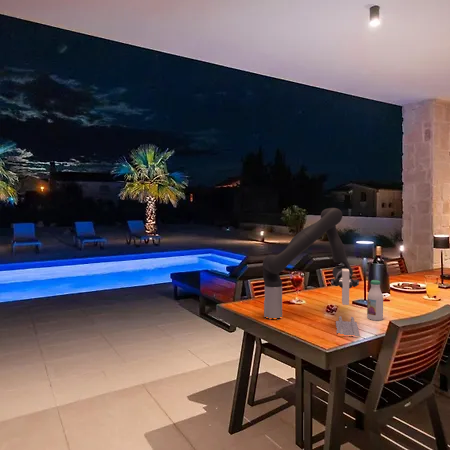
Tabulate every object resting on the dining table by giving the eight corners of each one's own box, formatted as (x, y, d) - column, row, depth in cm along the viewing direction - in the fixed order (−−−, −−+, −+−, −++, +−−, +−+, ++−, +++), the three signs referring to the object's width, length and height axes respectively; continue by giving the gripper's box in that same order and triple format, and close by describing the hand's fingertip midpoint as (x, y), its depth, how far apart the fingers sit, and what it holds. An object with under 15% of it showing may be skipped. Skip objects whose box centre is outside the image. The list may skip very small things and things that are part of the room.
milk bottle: (379, 316, 213) (379, 279, 211) (385, 320, 205) (386, 282, 204) (364, 316, 212) (365, 279, 211) (370, 321, 205) (371, 282, 203)
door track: (337, 336, 184) (337, 328, 183) (335, 322, 203) (335, 316, 203) (360, 337, 181) (360, 330, 181) (356, 324, 201) (356, 317, 200)
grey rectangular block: (342, 304, 189) (342, 271, 187) (341, 301, 195) (342, 268, 193) (349, 304, 188) (349, 271, 187) (348, 301, 194) (348, 268, 193)
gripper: (329, 270, 206) (330, 277, 189) (358, 271, 202) (361, 278, 186) (329, 285, 206) (330, 293, 190) (358, 286, 203) (361, 294, 186)
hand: (346, 286), depth 188 cm, fingers closed on grey rectangular block, 3 cm apart
